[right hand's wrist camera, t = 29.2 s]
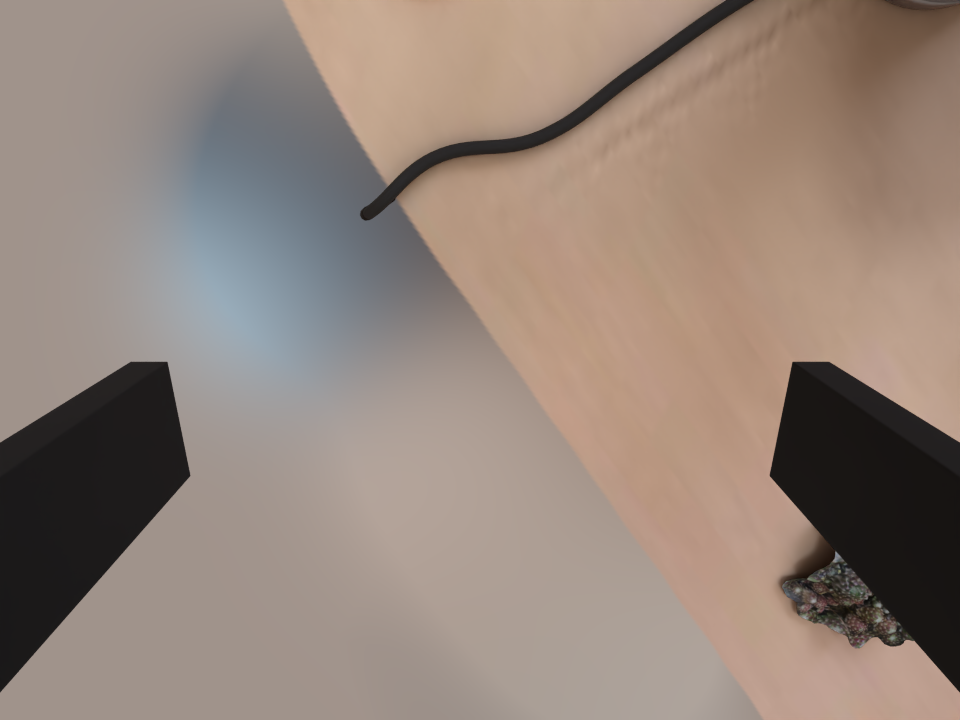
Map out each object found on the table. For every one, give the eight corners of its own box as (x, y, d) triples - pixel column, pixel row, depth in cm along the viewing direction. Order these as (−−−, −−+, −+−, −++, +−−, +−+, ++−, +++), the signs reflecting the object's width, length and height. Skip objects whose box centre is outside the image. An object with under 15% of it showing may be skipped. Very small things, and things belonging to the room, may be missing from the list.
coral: (858, 511, 50) (998, 522, 53) (816, 481, 55) (945, 494, 58) (801, 666, 55) (933, 670, 57) (766, 626, 60) (889, 631, 62)
